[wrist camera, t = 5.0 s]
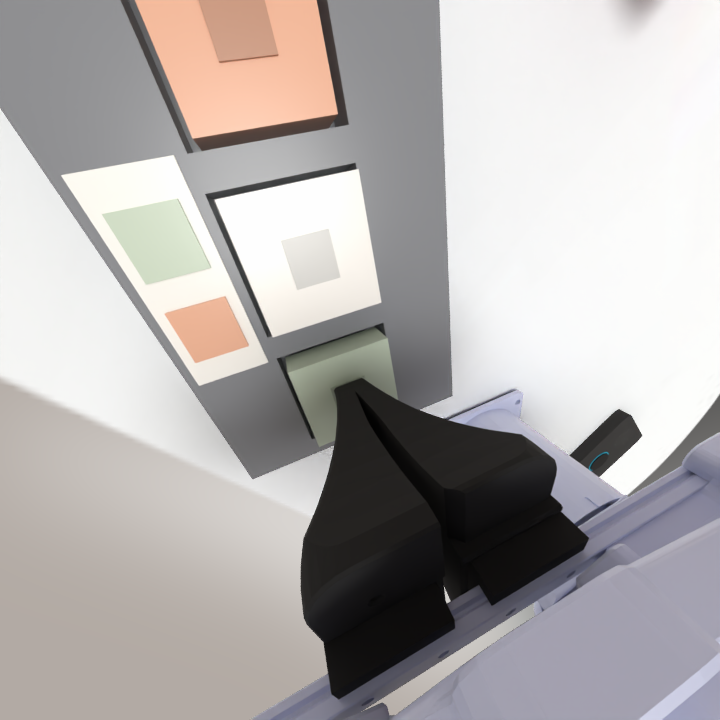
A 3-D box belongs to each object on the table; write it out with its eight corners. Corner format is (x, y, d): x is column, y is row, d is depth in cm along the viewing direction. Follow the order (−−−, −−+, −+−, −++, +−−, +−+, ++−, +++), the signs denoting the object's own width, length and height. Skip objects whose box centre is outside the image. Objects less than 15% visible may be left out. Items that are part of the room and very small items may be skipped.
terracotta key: (328, 130, 9) (338, 113, 8) (202, 152, 9) (192, 138, 7) (285, -73, 7) (290, -143, 6) (112, -68, 6) (73, -147, 5)
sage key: (388, 397, 15) (401, 414, 13) (313, 427, 14) (319, 448, 12) (374, 327, 12) (388, 338, 11) (285, 357, 12) (288, 373, 10)
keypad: (429, 376, 18) (455, 398, 15) (254, 445, 15) (252, 483, 13) (387, -115, 8) (437, -255, 6) (-88, -116, 6) (-318, -343, 4)
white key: (368, 294, 12) (382, 303, 10) (271, 325, 11) (272, 338, 9) (345, 177, 9) (359, 168, 8) (221, 204, 9) (214, 199, 7)
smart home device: (644, 437, 32) (530, 543, 35) (628, 428, 34) (519, 531, 37) (632, 413, 28) (503, 536, 31) (613, 404, 29) (492, 523, 33)
